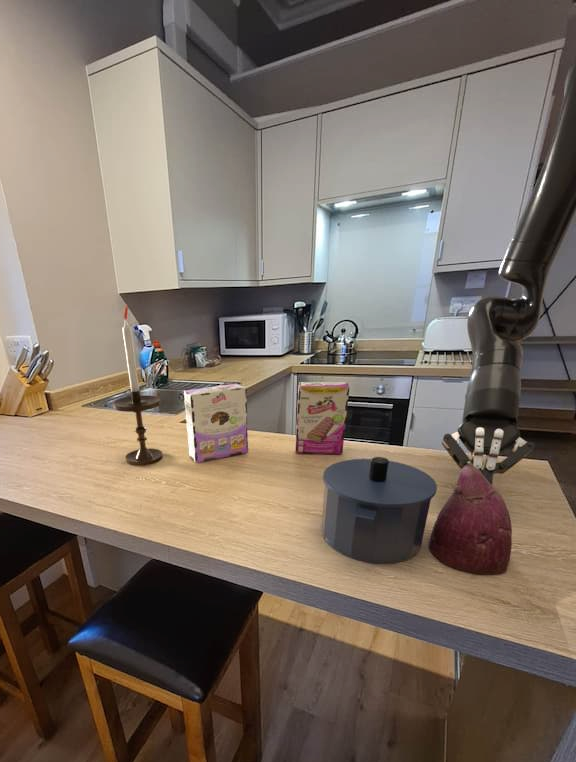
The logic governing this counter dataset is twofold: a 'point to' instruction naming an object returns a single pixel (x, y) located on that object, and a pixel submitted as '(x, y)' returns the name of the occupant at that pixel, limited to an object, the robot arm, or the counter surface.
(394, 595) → the counter surface
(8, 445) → the counter surface
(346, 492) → the pot lid
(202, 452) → the candy box
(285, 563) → the counter surface
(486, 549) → the vegetable
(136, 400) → the candlestick
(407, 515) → the pot
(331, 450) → the candy bar box
